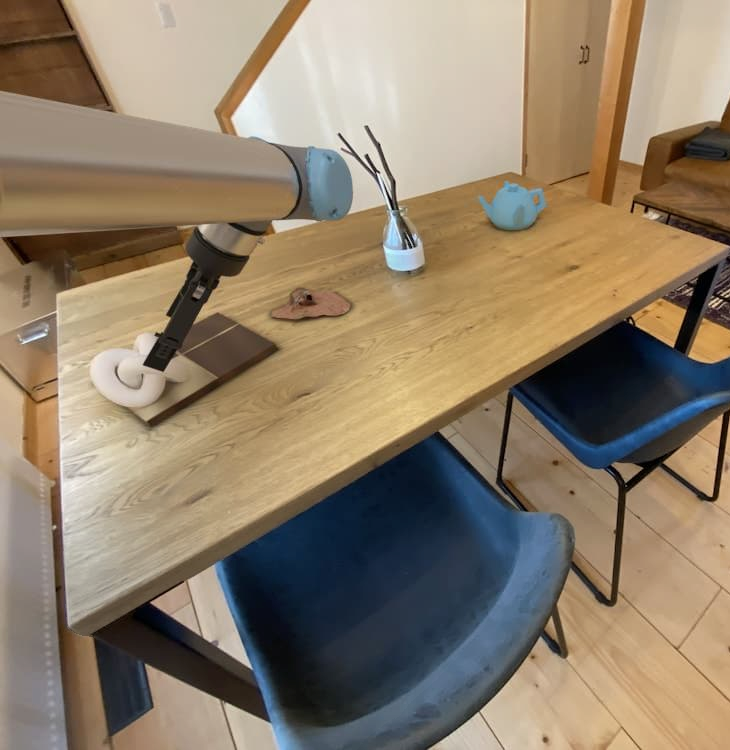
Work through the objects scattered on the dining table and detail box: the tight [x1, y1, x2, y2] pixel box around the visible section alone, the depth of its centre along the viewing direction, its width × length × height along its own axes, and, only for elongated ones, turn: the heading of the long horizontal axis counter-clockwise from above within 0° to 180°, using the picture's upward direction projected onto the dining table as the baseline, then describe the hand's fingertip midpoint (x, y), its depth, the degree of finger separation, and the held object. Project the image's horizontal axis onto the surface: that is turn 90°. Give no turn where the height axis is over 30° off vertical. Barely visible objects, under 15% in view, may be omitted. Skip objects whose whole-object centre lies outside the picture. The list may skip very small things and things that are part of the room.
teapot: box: [477, 180, 547, 231], centre depth 125 cm, size 15×15×11 cm
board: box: [115, 312, 279, 428], centre depth 82 cm, size 24×20×2 cm
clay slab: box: [271, 287, 352, 320], centre depth 95 cm, size 15×13×3 cm
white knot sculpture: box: [89, 332, 190, 408], centre depth 72 cm, size 11×12×9 cm
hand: (165, 341), depth 71 cm, fingers open, 13 cm apart
